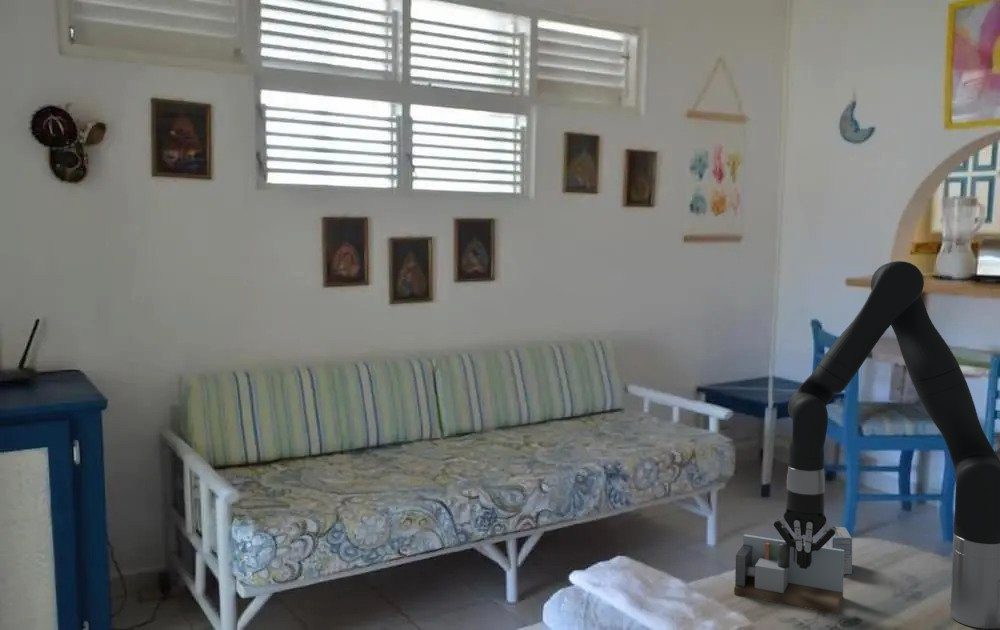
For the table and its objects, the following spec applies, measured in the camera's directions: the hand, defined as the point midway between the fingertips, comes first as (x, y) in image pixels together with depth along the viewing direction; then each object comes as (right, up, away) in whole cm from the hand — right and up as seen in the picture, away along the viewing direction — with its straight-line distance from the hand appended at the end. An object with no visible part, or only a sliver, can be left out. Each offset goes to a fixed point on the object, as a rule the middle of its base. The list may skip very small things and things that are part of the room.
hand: (803, 567), depth 183 cm
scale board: (-1, -5, +6) cm, 8 cm away
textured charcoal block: (-11, -5, +7) cm, 14 cm away
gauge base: (-2, -7, +3) cm, 8 cm away
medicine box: (+14, -6, +18) cm, 24 cm away
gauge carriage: (-6, -5, +4) cm, 9 cm away
